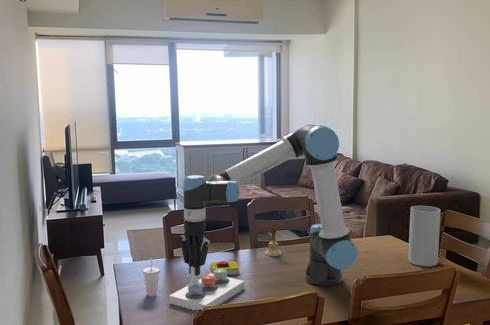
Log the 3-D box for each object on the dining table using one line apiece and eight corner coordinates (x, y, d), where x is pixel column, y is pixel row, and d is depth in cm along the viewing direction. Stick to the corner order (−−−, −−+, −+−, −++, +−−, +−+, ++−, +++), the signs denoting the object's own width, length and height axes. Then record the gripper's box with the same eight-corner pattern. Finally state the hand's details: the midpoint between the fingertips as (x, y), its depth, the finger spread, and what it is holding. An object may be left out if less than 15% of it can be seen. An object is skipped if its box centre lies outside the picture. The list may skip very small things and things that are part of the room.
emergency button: (206, 259, 207) (240, 257, 210) (206, 269, 208) (240, 267, 210) (209, 267, 198) (244, 265, 201) (209, 277, 199) (244, 275, 201)
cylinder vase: (402, 262, 216) (405, 208, 213) (416, 256, 225) (419, 204, 222) (429, 269, 207) (431, 213, 204) (442, 262, 215) (445, 209, 212)
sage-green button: (229, 275, 186) (229, 270, 185) (222, 280, 181) (221, 274, 181) (218, 273, 188) (218, 268, 188) (210, 277, 184) (210, 272, 183)
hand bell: (262, 252, 231) (262, 220, 229) (278, 250, 233) (278, 218, 231) (268, 257, 223) (268, 224, 221) (284, 255, 225) (285, 222, 223)
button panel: (244, 288, 185) (244, 280, 185) (205, 313, 163) (205, 304, 163) (210, 280, 194) (210, 272, 193) (169, 303, 171) (169, 294, 171)
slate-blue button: (205, 289, 172) (205, 283, 172) (196, 294, 167) (196, 288, 167) (194, 286, 175) (193, 281, 174) (185, 291, 170) (185, 285, 170)
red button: (217, 282, 179) (217, 276, 178) (209, 287, 174) (209, 281, 174) (206, 279, 181) (206, 274, 181) (198, 284, 177) (198, 278, 177)
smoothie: (161, 290, 183) (160, 255, 181) (159, 297, 177) (158, 261, 175) (144, 291, 183) (144, 255, 181) (141, 297, 176) (140, 261, 175)
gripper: (173, 219, 168) (173, 283, 171) (203, 224, 161) (203, 290, 164) (186, 214, 174) (186, 276, 177) (215, 219, 168) (215, 283, 171)
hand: (194, 283), depth 171 cm, fingers closed
